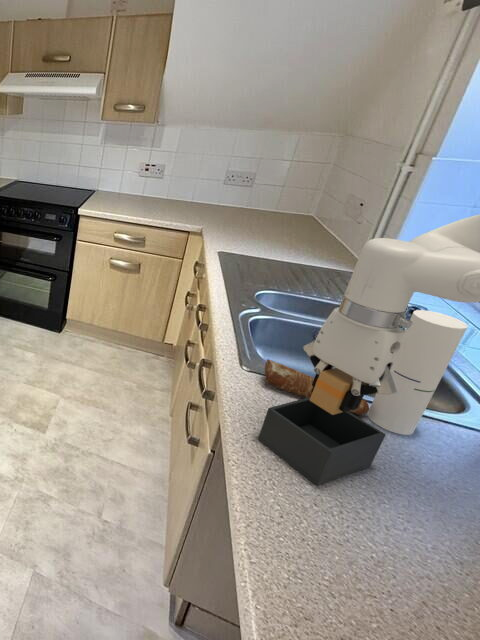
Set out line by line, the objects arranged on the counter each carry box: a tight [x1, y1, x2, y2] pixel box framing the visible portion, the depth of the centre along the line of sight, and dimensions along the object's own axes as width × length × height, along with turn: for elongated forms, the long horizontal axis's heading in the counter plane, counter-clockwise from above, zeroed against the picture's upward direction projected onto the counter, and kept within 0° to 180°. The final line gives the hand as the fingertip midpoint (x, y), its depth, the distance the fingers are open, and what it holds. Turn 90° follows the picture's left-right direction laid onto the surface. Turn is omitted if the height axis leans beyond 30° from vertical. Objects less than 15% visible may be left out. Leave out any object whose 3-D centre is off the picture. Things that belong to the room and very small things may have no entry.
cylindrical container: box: [367, 309, 469, 436], centre depth 83 cm, size 7×7×25 cm
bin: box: [257, 397, 386, 486], centre depth 78 cm, size 14×11×8 cm
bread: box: [264, 358, 370, 415], centre depth 94 cm, size 6×19×6 cm, turn 50°
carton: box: [310, 367, 353, 415], centre depth 74 cm, size 5×4×6 cm
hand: (332, 399), depth 75 cm, fingers closed on carton, 4 cm apart
